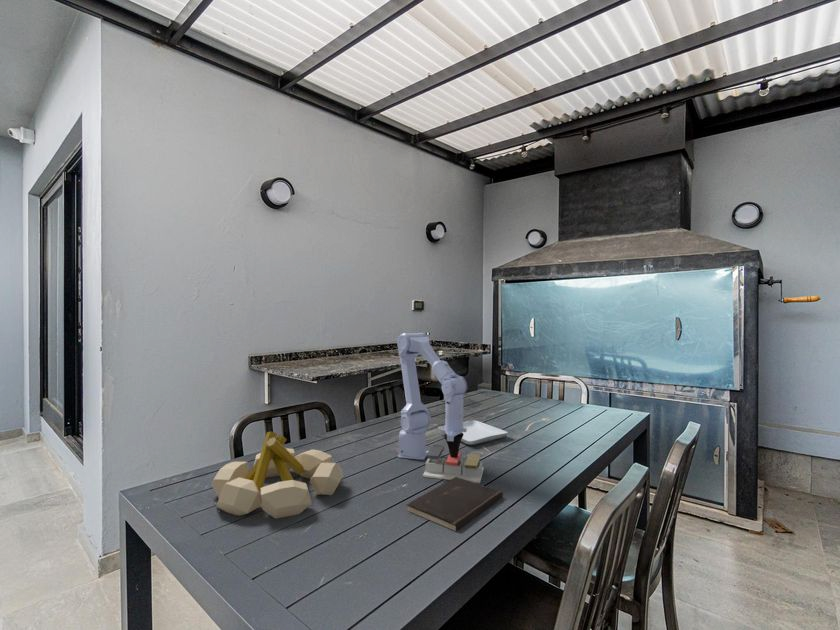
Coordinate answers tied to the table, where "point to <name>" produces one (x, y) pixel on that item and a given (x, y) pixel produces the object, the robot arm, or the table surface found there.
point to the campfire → (279, 498)
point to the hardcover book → (455, 503)
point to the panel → (453, 471)
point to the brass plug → (472, 461)
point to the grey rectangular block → (435, 453)
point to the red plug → (453, 460)
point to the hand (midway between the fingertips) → (454, 456)
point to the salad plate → (478, 432)
